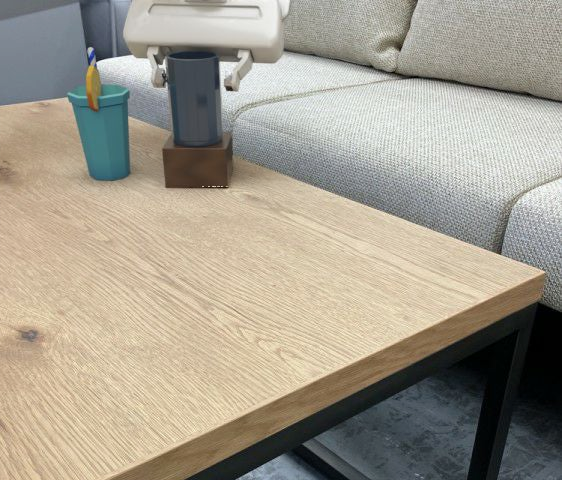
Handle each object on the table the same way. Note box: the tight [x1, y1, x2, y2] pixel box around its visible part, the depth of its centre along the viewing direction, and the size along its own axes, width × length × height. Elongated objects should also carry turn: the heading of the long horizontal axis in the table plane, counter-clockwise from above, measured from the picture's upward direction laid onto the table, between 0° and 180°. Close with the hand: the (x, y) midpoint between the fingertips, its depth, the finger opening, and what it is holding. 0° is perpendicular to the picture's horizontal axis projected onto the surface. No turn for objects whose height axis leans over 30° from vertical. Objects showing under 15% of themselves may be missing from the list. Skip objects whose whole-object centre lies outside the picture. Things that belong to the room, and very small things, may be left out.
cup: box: [66, 46, 131, 181], centre depth 91 cm, size 14×8×15 cm, turn 17°
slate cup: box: [164, 51, 224, 146], centre depth 87 cm, size 6×6×10 cm
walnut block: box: [161, 131, 234, 188], centre depth 91 cm, size 8×8×5 cm
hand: (193, 87), depth 86 cm, fingers open, 8 cm apart
